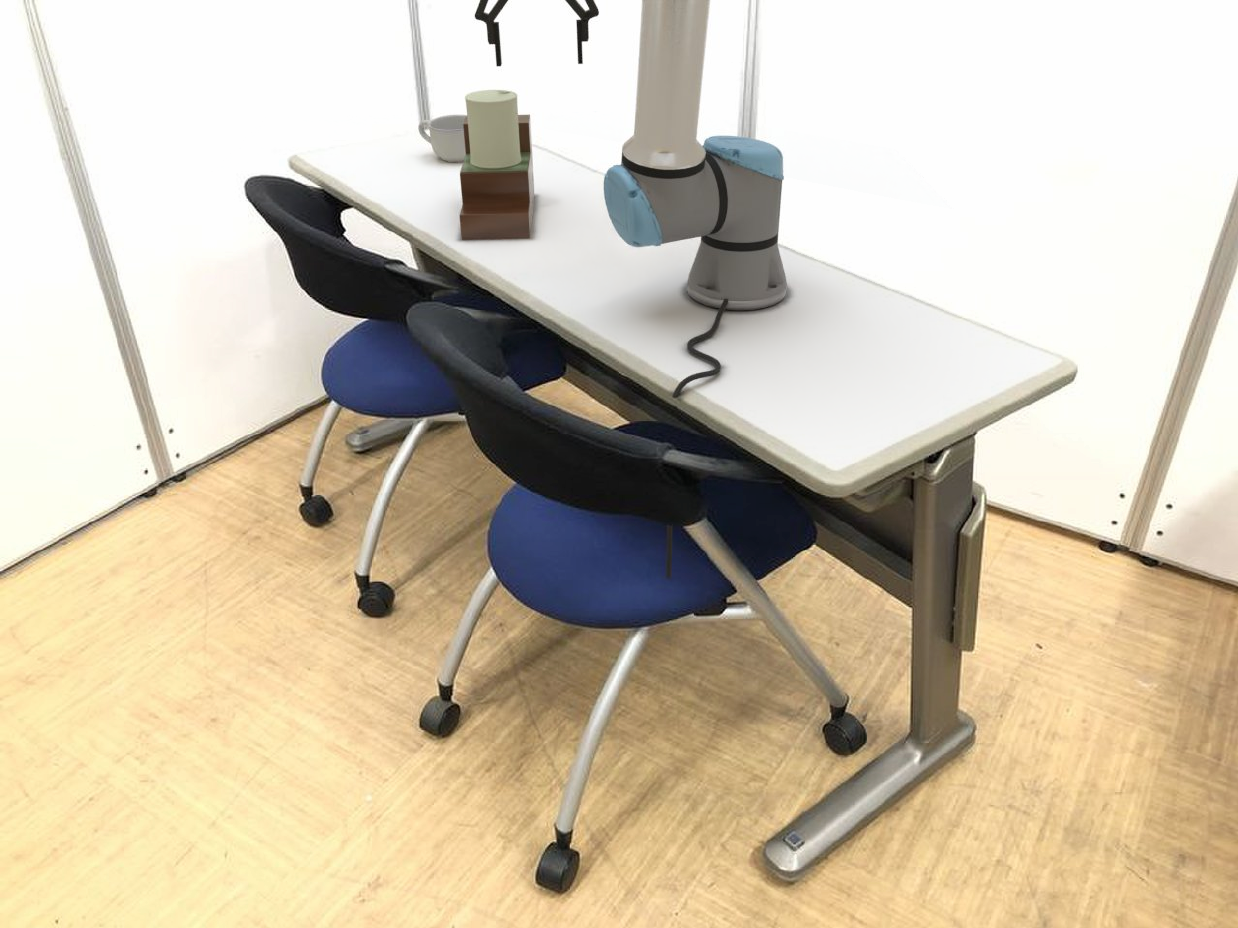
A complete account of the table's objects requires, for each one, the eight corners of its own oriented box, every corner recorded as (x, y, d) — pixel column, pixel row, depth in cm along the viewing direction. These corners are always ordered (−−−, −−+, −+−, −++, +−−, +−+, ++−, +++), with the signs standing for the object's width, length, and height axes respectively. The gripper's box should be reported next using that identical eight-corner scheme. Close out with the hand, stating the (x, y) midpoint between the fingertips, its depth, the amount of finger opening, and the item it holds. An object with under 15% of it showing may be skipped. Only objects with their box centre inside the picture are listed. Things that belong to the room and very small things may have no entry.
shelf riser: (530, 238, 184) (525, 150, 176) (461, 240, 184) (453, 151, 175) (534, 195, 204) (530, 114, 196) (472, 197, 204) (465, 116, 196)
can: (532, 160, 189) (528, 92, 182) (494, 172, 183) (489, 101, 177) (497, 151, 194) (492, 84, 188) (459, 162, 188) (453, 93, 182)
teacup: (491, 155, 228) (489, 118, 224) (460, 168, 220) (456, 129, 216) (442, 147, 235) (439, 110, 230) (410, 159, 227) (405, 121, 223)
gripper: (610, -82, 168) (612, 57, 179) (454, -78, 167) (466, 61, 178) (612, -79, 162) (615, 65, 173) (450, -75, 161) (463, 70, 172)
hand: (539, 64), depth 175 cm, fingers open, 13 cm apart
